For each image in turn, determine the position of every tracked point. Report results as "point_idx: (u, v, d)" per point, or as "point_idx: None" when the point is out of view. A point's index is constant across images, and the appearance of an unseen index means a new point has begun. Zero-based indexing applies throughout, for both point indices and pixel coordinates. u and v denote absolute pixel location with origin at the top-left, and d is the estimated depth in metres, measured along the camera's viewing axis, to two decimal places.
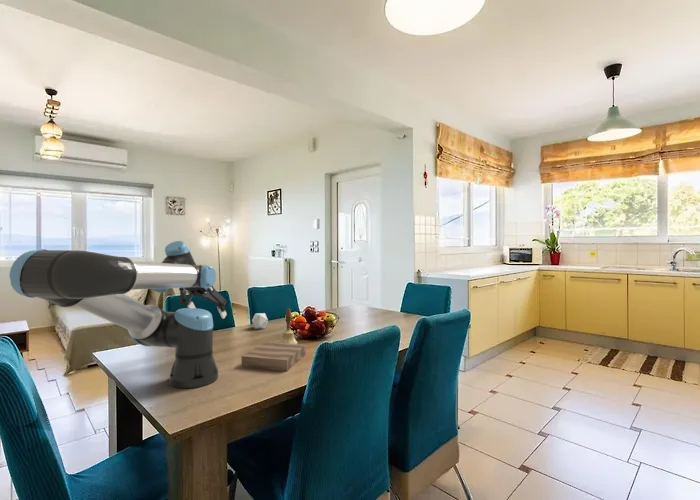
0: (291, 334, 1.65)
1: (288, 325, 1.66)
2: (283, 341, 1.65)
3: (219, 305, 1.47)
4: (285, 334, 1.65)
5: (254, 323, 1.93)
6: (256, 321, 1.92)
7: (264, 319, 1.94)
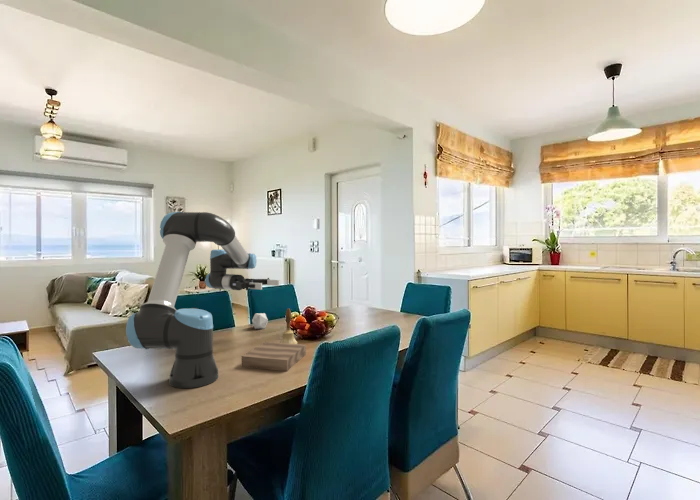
0: (291, 334, 1.65)
1: (288, 325, 1.66)
2: (283, 341, 1.65)
3: (267, 279, 1.80)
4: (285, 334, 1.65)
5: (254, 323, 1.93)
6: (256, 321, 1.92)
7: (264, 319, 1.94)
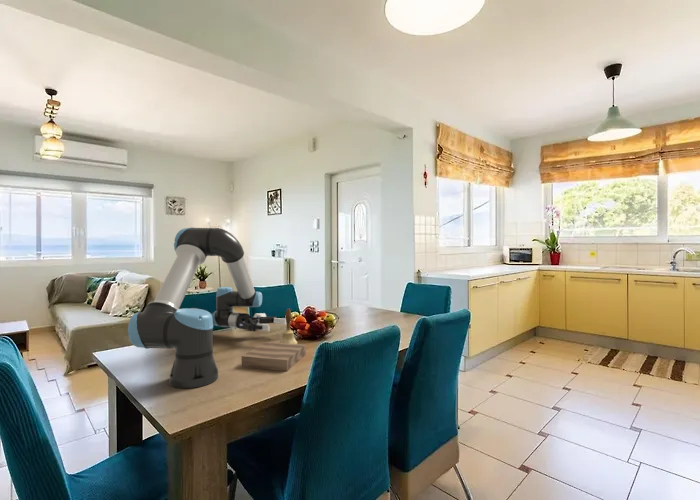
0: (291, 334, 1.65)
1: (288, 325, 1.66)
2: (283, 341, 1.65)
3: (273, 317, 1.80)
4: (285, 334, 1.65)
5: None
6: None
7: None
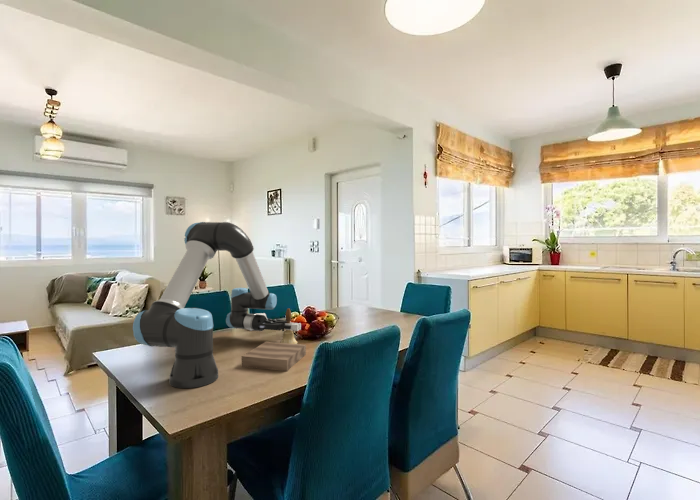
0: (291, 334, 1.65)
1: None
2: (283, 341, 1.65)
3: None
4: (285, 334, 1.65)
5: None
6: None
7: None
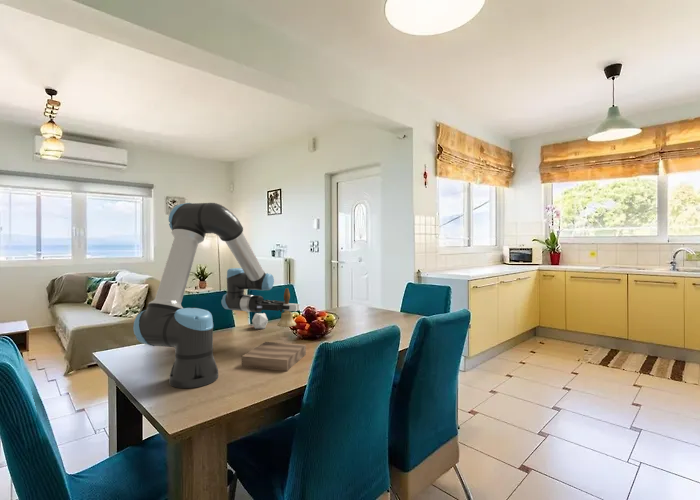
0: (289, 314, 1.59)
1: None
2: (281, 322, 1.58)
3: None
4: (283, 315, 1.58)
5: (254, 323, 1.93)
6: (256, 321, 1.92)
7: (264, 319, 1.94)
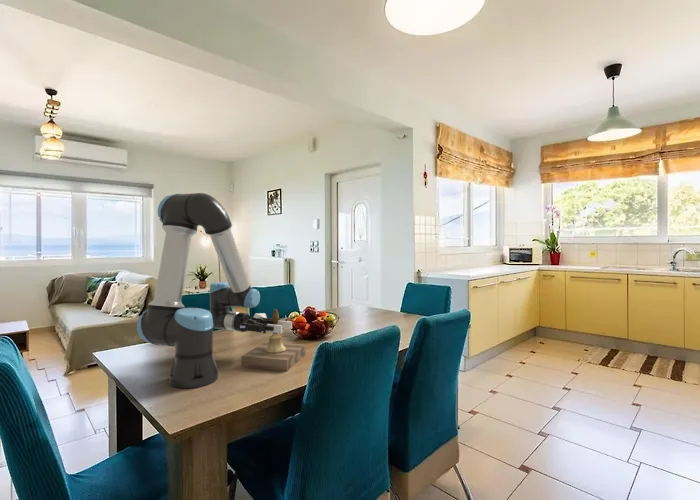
0: (278, 338, 1.42)
1: None
2: (269, 347, 1.41)
3: None
4: (271, 339, 1.42)
5: None
6: None
7: None
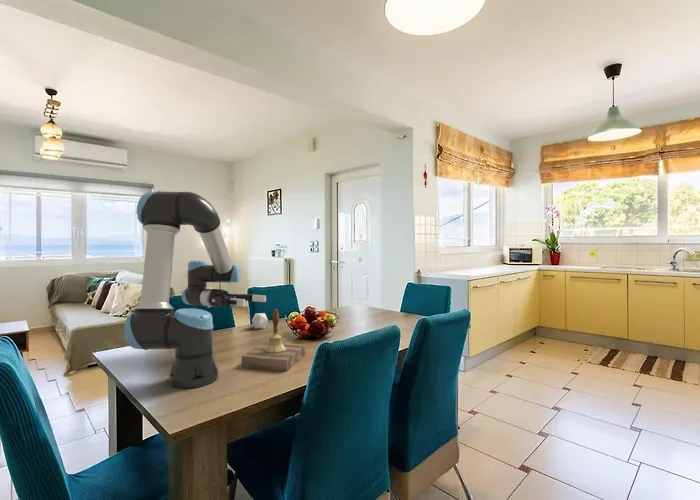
0: (278, 339, 1.42)
1: (275, 328, 1.43)
2: (269, 347, 1.41)
3: (252, 294, 1.58)
4: (271, 339, 1.42)
5: (254, 323, 1.93)
6: (256, 321, 1.92)
7: (264, 319, 1.94)
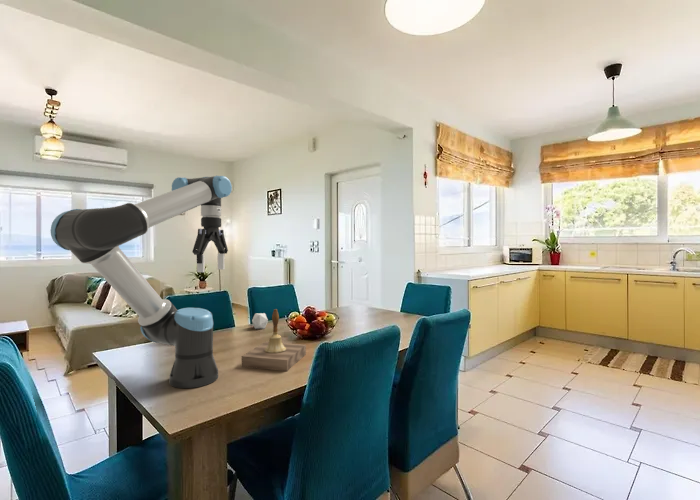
0: (278, 338, 1.42)
1: (275, 328, 1.43)
2: (269, 347, 1.41)
3: None
4: (271, 339, 1.42)
5: (254, 323, 1.93)
6: (256, 321, 1.92)
7: (264, 319, 1.94)
